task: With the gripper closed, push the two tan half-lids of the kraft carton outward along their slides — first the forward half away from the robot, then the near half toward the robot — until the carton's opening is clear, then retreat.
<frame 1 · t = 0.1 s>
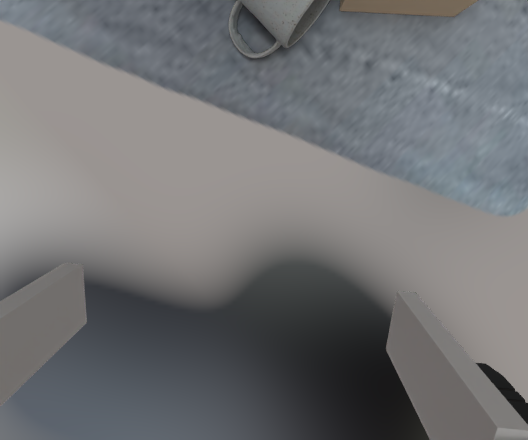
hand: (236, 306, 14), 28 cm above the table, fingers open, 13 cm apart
ceramic mug: (276, 14, 37), on the table
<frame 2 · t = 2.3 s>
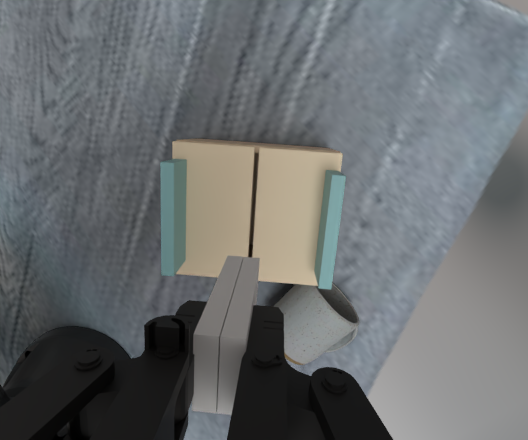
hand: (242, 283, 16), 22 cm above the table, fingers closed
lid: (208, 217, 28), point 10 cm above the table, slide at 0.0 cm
ceramic mug: (316, 306, 41), on the table
carton: (259, 197, 38), on the table
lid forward: (294, 224, 28), point 10 cm above the table, slide at 0.0 cm
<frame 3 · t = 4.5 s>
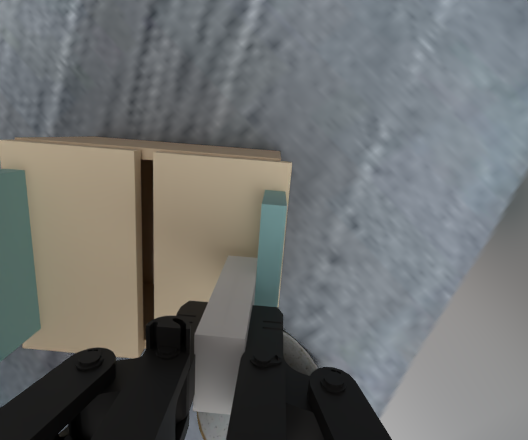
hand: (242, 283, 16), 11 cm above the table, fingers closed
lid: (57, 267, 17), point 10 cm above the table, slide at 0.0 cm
ceramic mug: (276, 371, 30), on the table
carton: (185, 221, 27), on the table
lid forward: (212, 281, 17), point 10 cm above the table, slide at 0.6 cm, touching gripper
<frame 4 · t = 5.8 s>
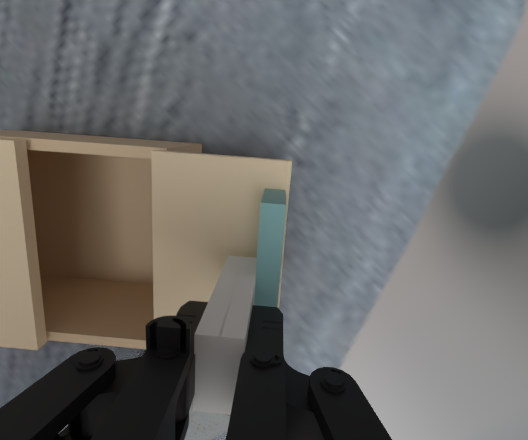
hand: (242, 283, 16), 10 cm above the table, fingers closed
ceramic mug: (214, 367, 30), on the table
carton: (112, 214, 27), on the table
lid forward: (211, 281, 16), point 10 cm above the table, slide at 6.4 cm, touching gripper
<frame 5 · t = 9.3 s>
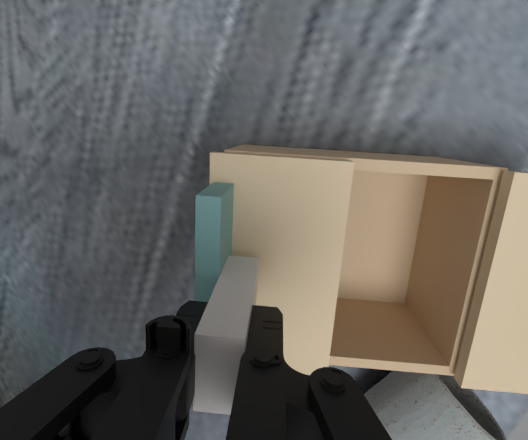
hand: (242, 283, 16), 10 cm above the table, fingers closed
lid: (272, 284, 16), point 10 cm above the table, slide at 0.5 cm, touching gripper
ceramic mug: (416, 389, 30), on the table
carton: (329, 229, 26), on the table
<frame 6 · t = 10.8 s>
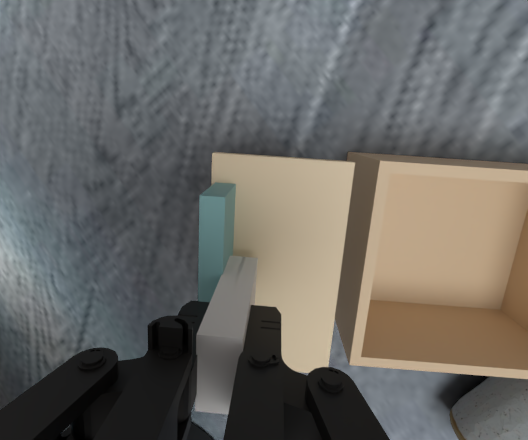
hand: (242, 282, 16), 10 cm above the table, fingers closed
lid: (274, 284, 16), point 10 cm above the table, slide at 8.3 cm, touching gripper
ceramic mug: (504, 396, 30), on the table
carton: (428, 236, 26), on the table
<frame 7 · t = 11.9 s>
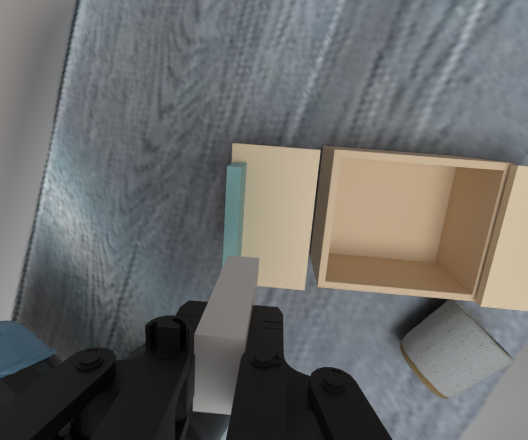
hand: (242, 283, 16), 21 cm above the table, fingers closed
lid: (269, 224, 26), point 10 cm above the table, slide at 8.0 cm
ceramic mug: (444, 333, 40), on the table
carton: (382, 208, 36), on the table
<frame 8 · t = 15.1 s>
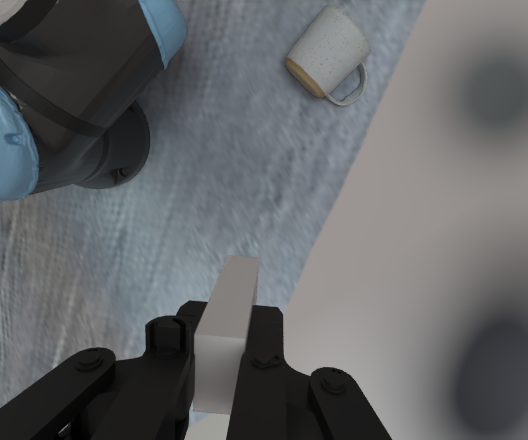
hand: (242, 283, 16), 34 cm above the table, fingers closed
ceramic mug: (330, 67, 46), on the table
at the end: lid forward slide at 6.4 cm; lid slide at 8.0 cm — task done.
